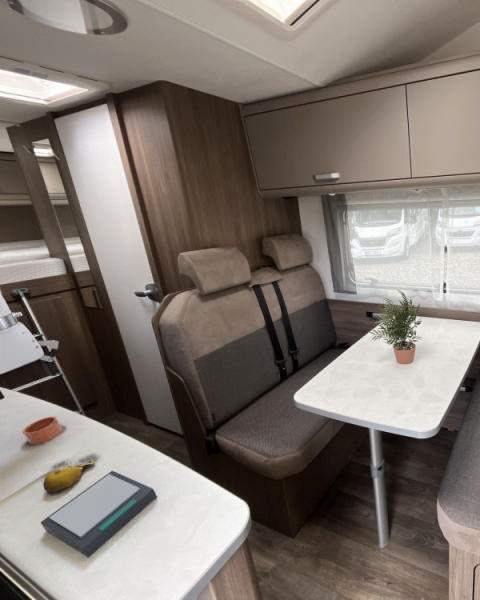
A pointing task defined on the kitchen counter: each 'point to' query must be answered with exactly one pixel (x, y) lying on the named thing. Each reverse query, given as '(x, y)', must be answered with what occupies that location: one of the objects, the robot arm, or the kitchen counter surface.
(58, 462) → the kitchen counter surface
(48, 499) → the kitchen counter surface
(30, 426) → the bowl
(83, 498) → the scale
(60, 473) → the fruit
